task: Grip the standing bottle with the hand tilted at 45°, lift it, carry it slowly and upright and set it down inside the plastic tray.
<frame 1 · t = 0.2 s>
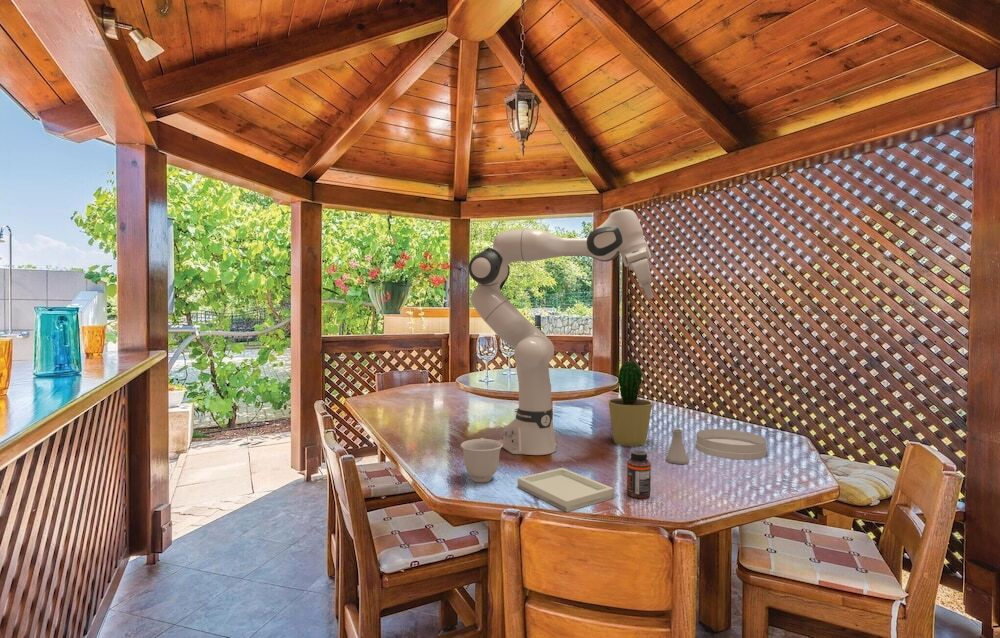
hand: (650, 298, 161), 52 cm above the table, tool tilted 20°, fingers open, 8 cm apart
potted cactus: (629, 442, 184), on the table
teacup: (481, 478, 145), on the table
tray: (564, 492, 133), on the table
dish: (730, 451, 174), on the table
flask: (677, 462, 161), on the table
supplement bottle: (638, 495, 132), on the table
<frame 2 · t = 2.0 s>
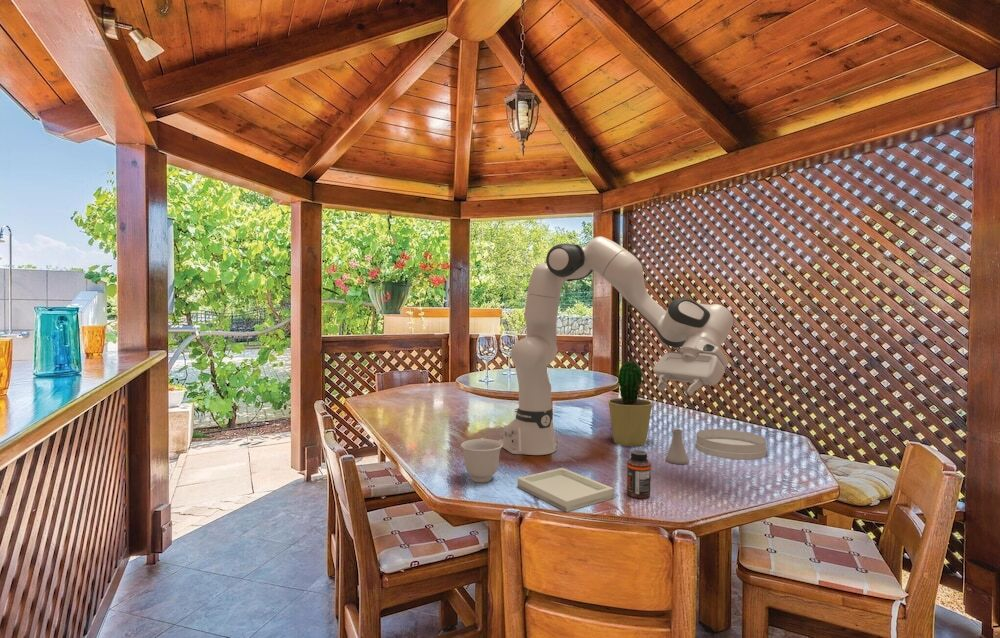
hand: (673, 391, 138), 26 cm above the table, tool tilted 45°, fingers open, 8 cm apart
nothing on the table moved.
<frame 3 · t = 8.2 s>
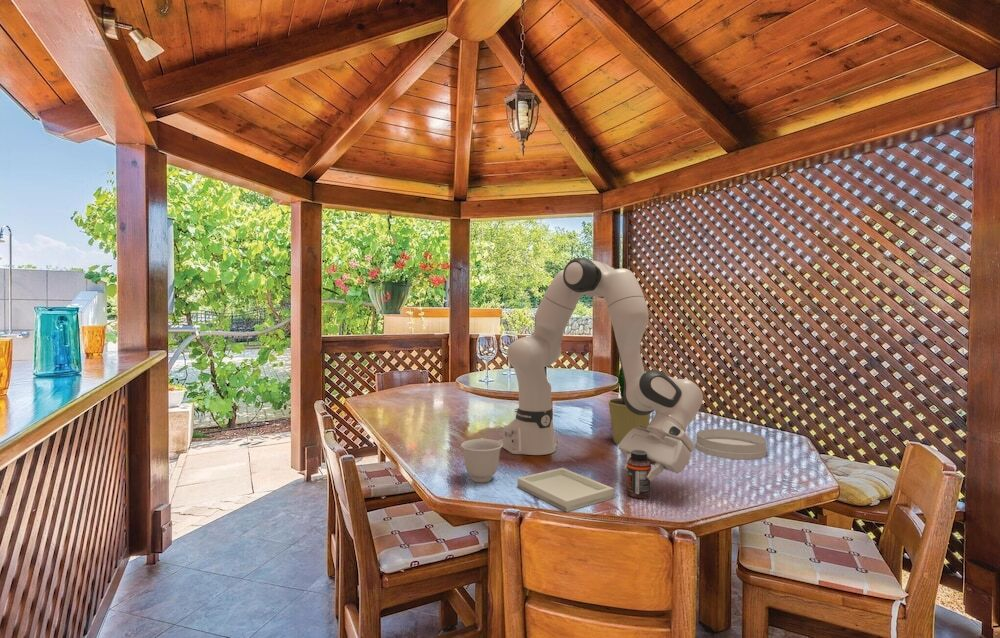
hand: (637, 474, 131), 5 cm above the table, tool tilted 45°, fingers closed on supplement bottle, 6 cm apart
supplement bottle: (638, 495, 132), on the table, touching gripper
everything else where it was.
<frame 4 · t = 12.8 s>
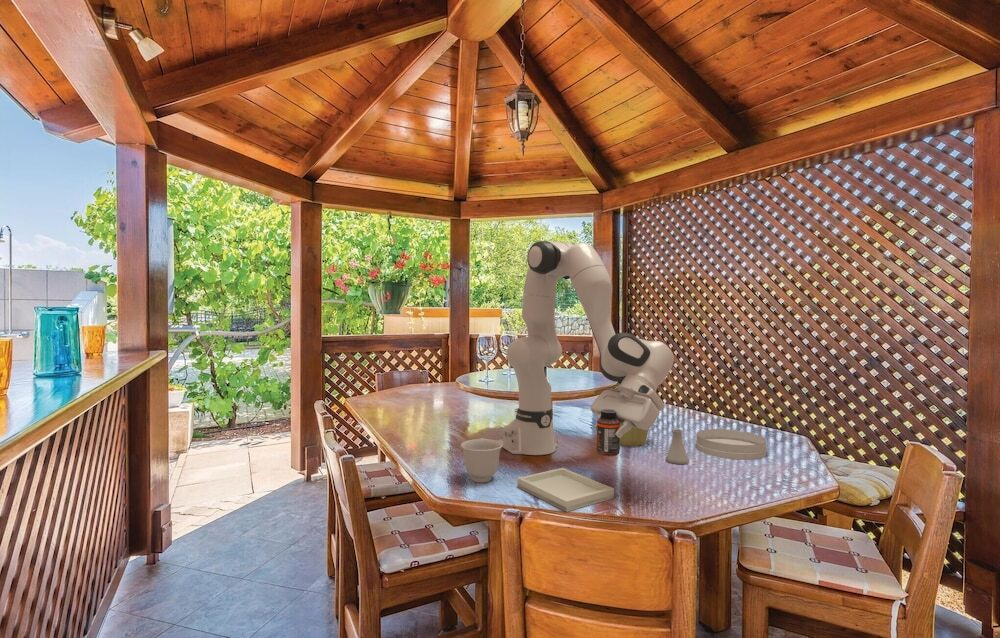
hand: (606, 433, 132), 16 cm above the table, tool tilted 45°, fingers closed on supplement bottle, 6 cm apart
supplement bottle: (608, 454, 132), point 10 cm above the table, touching gripper
everything else where it was.
when the fingers open (7 cm above the table, at t = 17.6 s): supplement bottle stays where it is, resting on tray.
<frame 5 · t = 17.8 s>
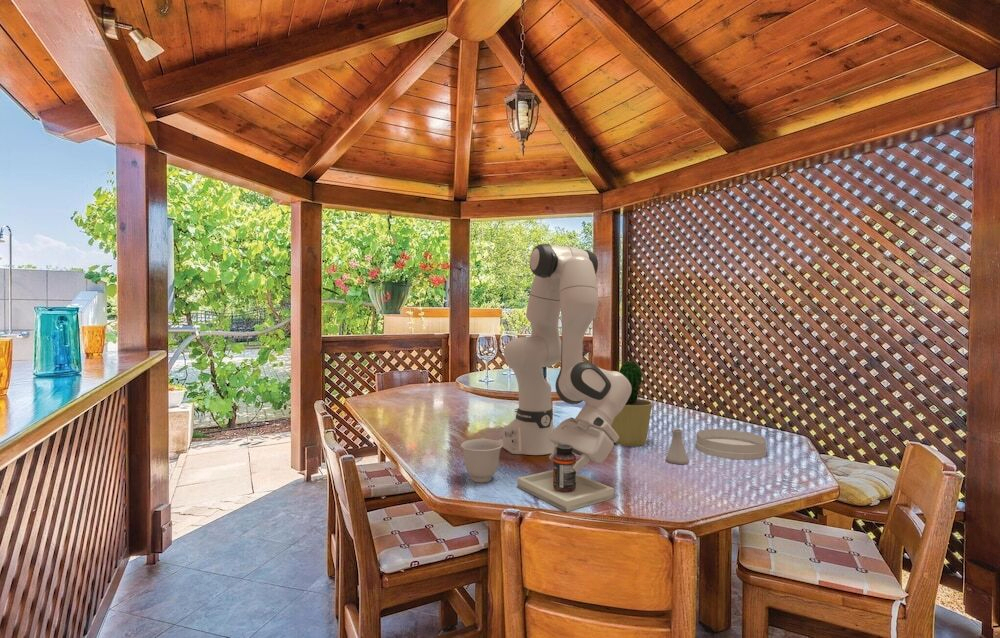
hand: (562, 465, 133), 7 cm above the table, tool tilted 45°, fingers open, 8 cm apart
supplement bottle: (564, 489, 133), point 1 cm above the table, touching tray
everything else where it was.
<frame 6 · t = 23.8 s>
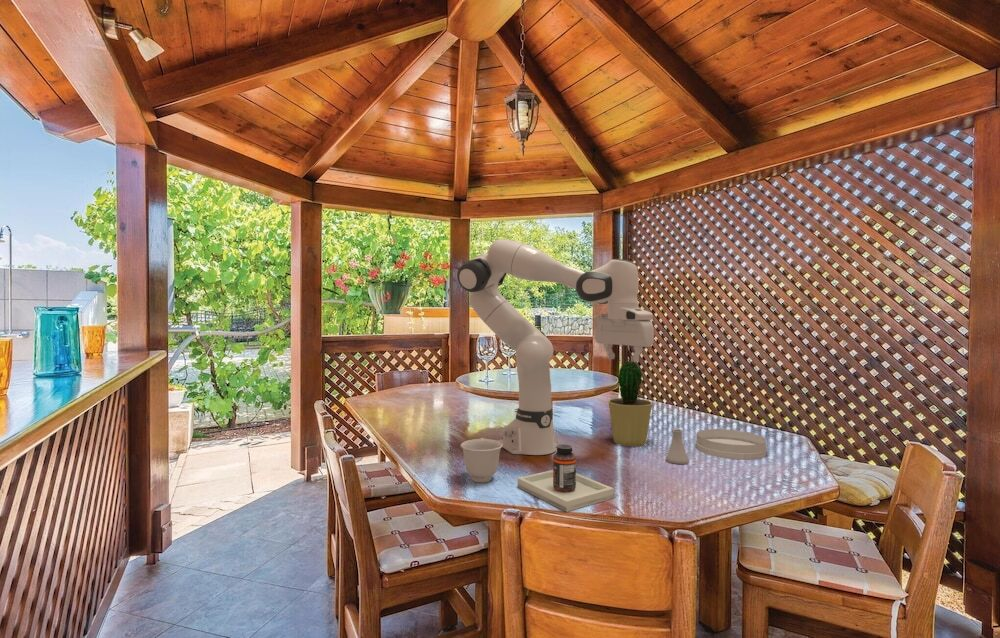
hand: (622, 360, 150), 33 cm above the table, tool pointing down, fingers open, 8 cm apart
nothing on the table moved.
at the end: supplement bottle inside the target area on the tray (0.0 cm from its centre), point 0.8 cm above the tray's base; supplement bottle tilted 0°; the gripper is holding nothing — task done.
